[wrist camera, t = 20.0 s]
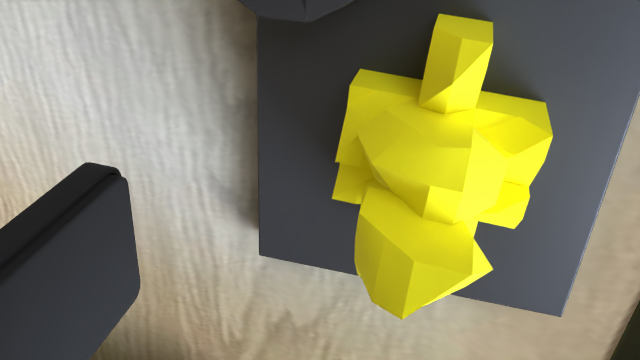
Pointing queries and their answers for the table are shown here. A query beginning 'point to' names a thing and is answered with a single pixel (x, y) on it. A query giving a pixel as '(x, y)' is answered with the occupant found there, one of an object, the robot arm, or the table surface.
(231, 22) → the table surface
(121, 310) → the robot arm
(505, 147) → the yellow crystal cluster
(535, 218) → the scale
